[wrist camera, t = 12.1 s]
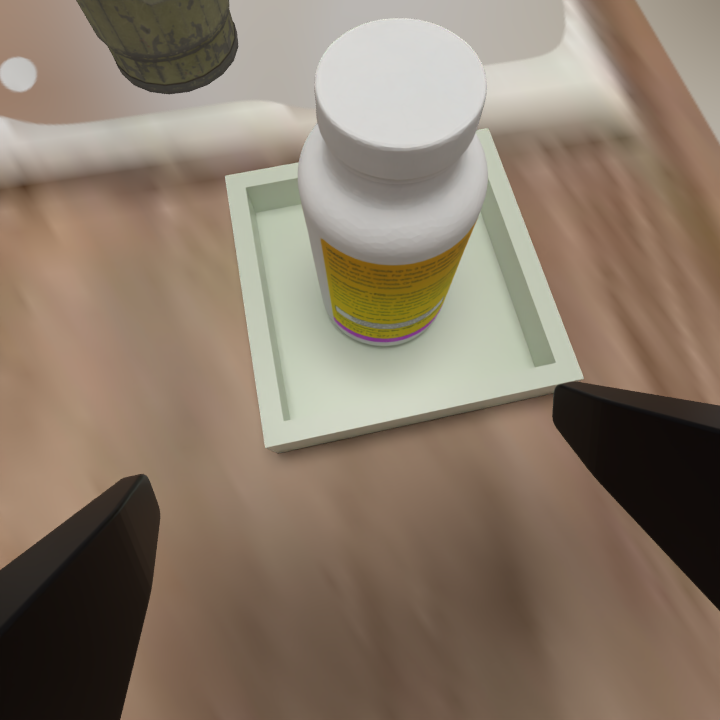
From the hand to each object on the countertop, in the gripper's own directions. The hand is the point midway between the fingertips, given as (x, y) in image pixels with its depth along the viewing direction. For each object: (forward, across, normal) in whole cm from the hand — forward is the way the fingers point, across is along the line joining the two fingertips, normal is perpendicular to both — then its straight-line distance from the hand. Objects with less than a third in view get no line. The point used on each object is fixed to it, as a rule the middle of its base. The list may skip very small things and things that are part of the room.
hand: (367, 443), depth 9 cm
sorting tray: (+16, -5, +1) cm, 16 cm away
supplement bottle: (+15, -4, 0) cm, 16 cm away
